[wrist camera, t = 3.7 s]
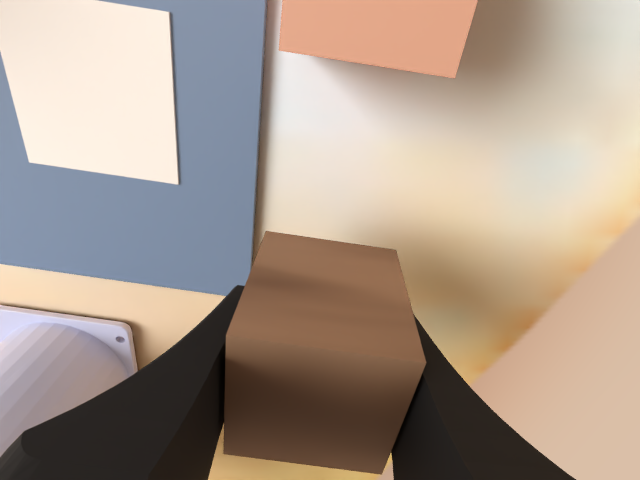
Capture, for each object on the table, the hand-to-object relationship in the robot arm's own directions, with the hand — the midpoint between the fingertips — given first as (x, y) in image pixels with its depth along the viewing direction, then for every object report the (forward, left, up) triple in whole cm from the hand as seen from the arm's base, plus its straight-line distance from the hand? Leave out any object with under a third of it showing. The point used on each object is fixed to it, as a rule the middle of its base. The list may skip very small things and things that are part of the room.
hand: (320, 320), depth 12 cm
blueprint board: (+5, +10, -6) cm, 13 cm away
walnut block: (0, 0, -2) cm, 2 cm away
